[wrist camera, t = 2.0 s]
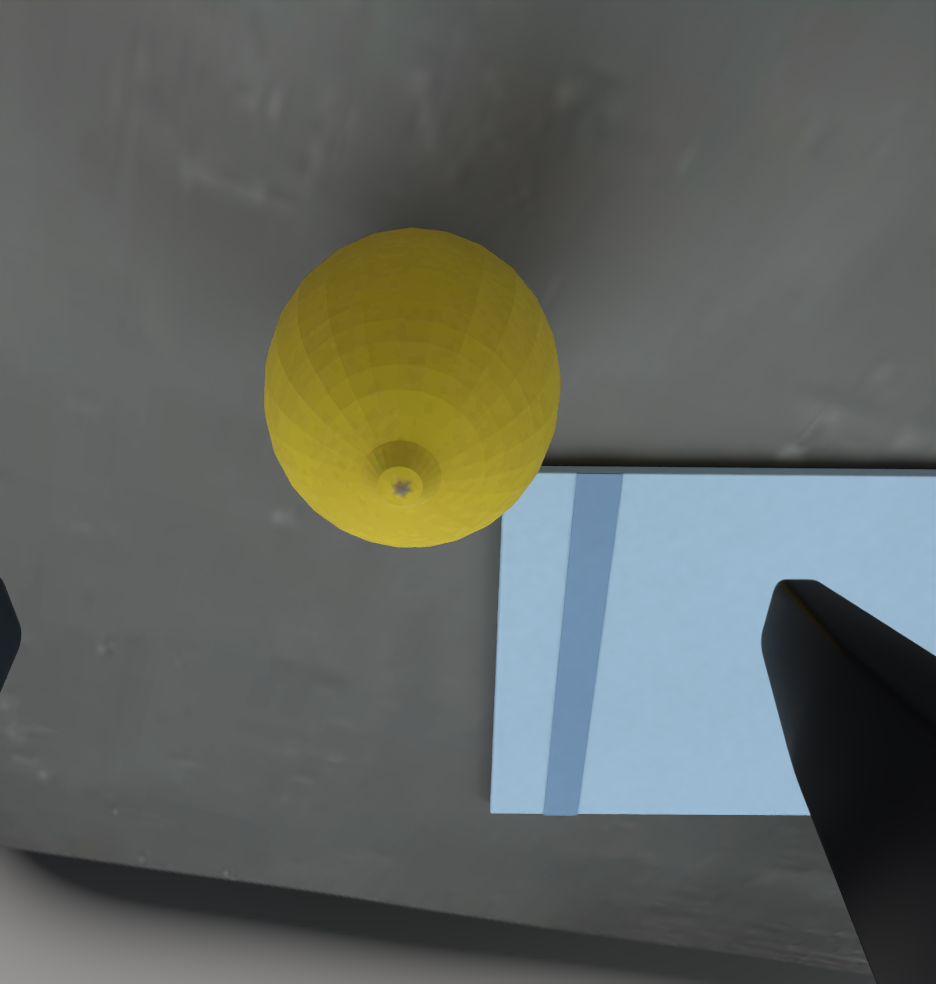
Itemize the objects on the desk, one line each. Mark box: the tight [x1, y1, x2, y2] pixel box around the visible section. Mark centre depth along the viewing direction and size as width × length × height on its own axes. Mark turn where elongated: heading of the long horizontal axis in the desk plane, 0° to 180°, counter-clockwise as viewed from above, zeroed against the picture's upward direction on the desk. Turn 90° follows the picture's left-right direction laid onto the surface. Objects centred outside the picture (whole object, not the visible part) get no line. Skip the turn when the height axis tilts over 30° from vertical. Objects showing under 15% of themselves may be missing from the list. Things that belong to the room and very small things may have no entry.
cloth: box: [490, 466, 936, 815], centre depth 23 cm, size 20×14×1 cm
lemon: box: [264, 227, 561, 547], centre depth 14 cm, size 6×6×8 cm
